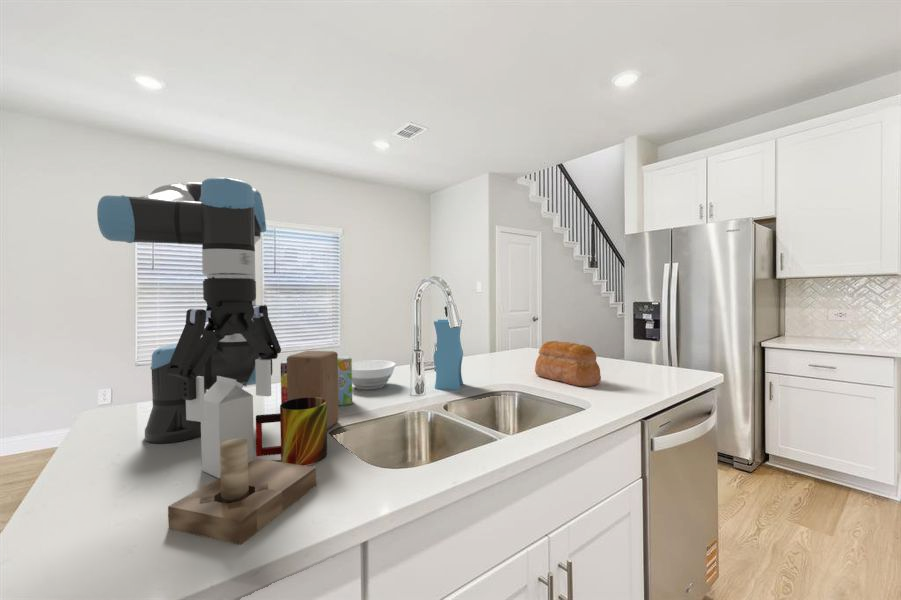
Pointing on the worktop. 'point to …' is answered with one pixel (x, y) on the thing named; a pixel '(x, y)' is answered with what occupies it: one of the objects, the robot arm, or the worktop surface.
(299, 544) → the worktop surface
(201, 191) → the robot arm
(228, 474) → the peg
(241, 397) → the milk carton
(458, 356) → the vase
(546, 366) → the bread
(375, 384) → the bowl
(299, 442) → the mug
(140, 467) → the worktop surface
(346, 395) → the snack box
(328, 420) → the wooden block
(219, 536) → the board
